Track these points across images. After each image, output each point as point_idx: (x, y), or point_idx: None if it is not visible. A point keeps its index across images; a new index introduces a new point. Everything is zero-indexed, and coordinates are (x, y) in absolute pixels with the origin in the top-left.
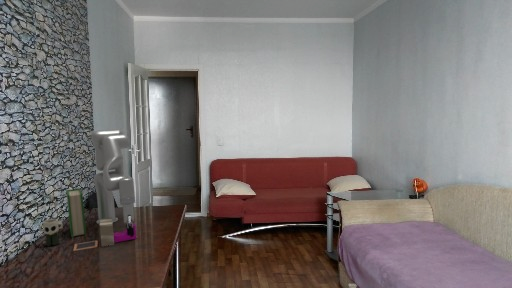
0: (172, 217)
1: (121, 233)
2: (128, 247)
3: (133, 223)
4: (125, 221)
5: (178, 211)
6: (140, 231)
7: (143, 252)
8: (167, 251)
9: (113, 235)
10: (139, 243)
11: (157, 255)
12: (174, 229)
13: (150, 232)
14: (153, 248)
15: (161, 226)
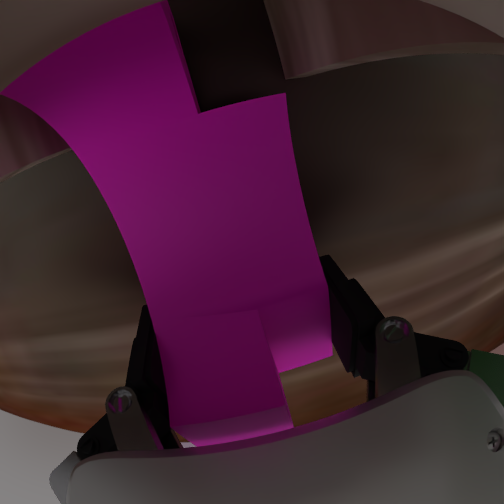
0: None
1: (227, 211)
2: (22, 301)
3: (277, 430)
4: (72, 493)
5: (494, 344)
6: (387, 297)
7: (4, 369)
8: (44, 422)
9: (4, 179)
10: (96, 353)
11: (7, 400)
12: None
13: (325, 363)
14: (50, 400)
15: None
